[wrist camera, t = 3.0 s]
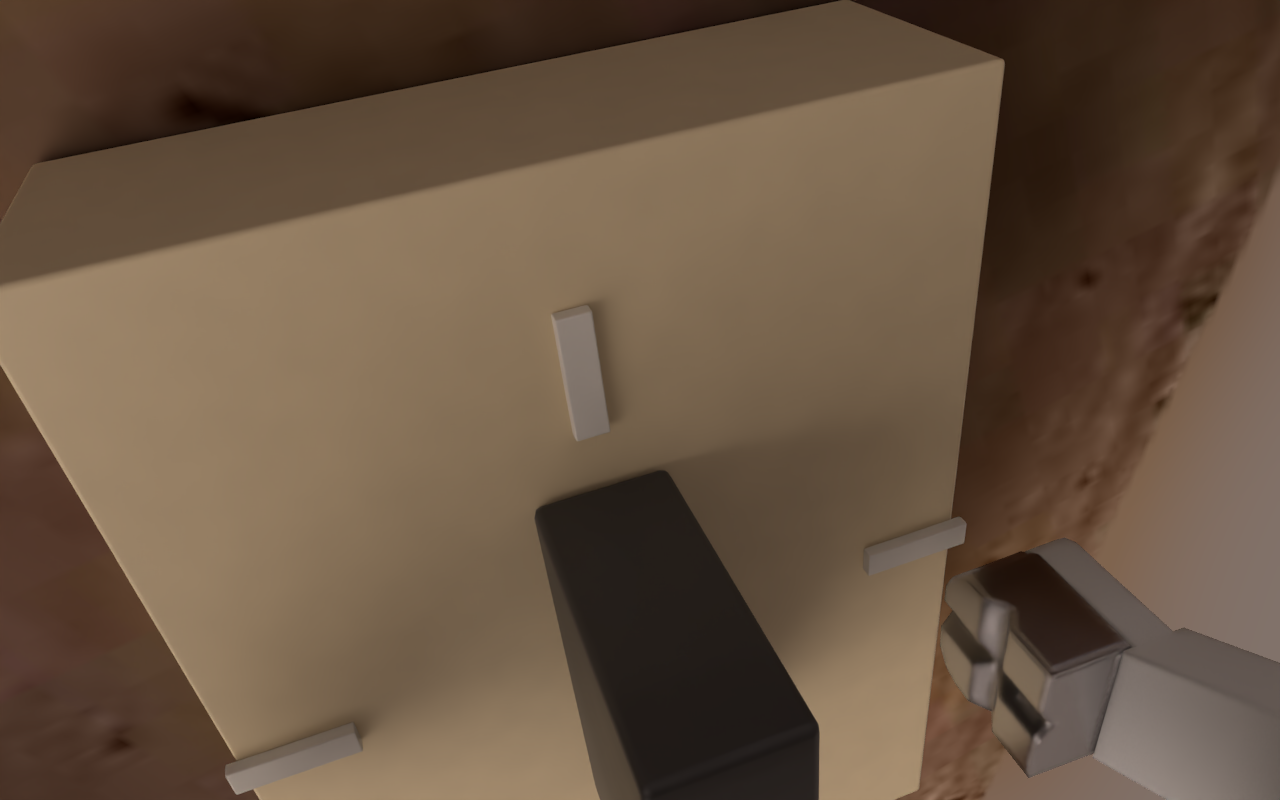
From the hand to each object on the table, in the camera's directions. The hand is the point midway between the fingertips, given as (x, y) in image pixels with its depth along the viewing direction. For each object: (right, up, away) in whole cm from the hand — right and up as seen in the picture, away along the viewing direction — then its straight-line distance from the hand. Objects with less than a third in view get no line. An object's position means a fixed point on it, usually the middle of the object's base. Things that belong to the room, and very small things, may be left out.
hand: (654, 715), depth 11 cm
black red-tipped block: (0, +1, +1) cm, 1 cm away
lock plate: (-1, +2, +3) cm, 4 cm away
